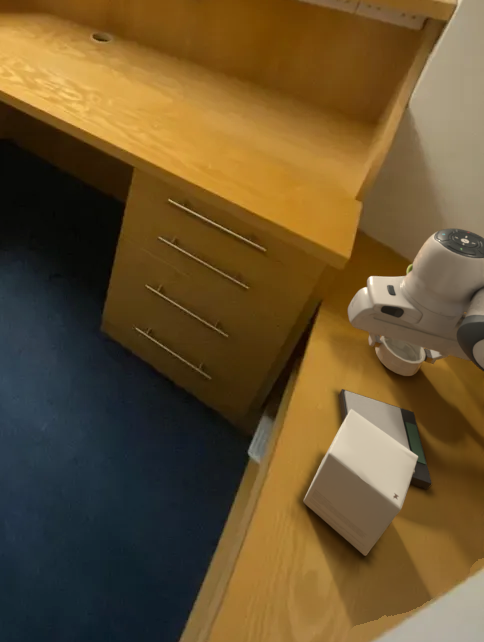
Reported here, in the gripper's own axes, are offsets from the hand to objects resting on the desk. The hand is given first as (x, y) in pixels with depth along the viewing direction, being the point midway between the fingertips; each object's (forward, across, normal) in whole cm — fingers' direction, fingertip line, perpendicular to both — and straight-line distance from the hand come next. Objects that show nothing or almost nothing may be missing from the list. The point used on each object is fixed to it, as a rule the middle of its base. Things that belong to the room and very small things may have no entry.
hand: (399, 351), depth 95 cm
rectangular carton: (+3, +12, +28) cm, 31 cm away
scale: (+3, +5, +16) cm, 17 cm away
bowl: (+3, 0, 0) cm, 3 cm away
